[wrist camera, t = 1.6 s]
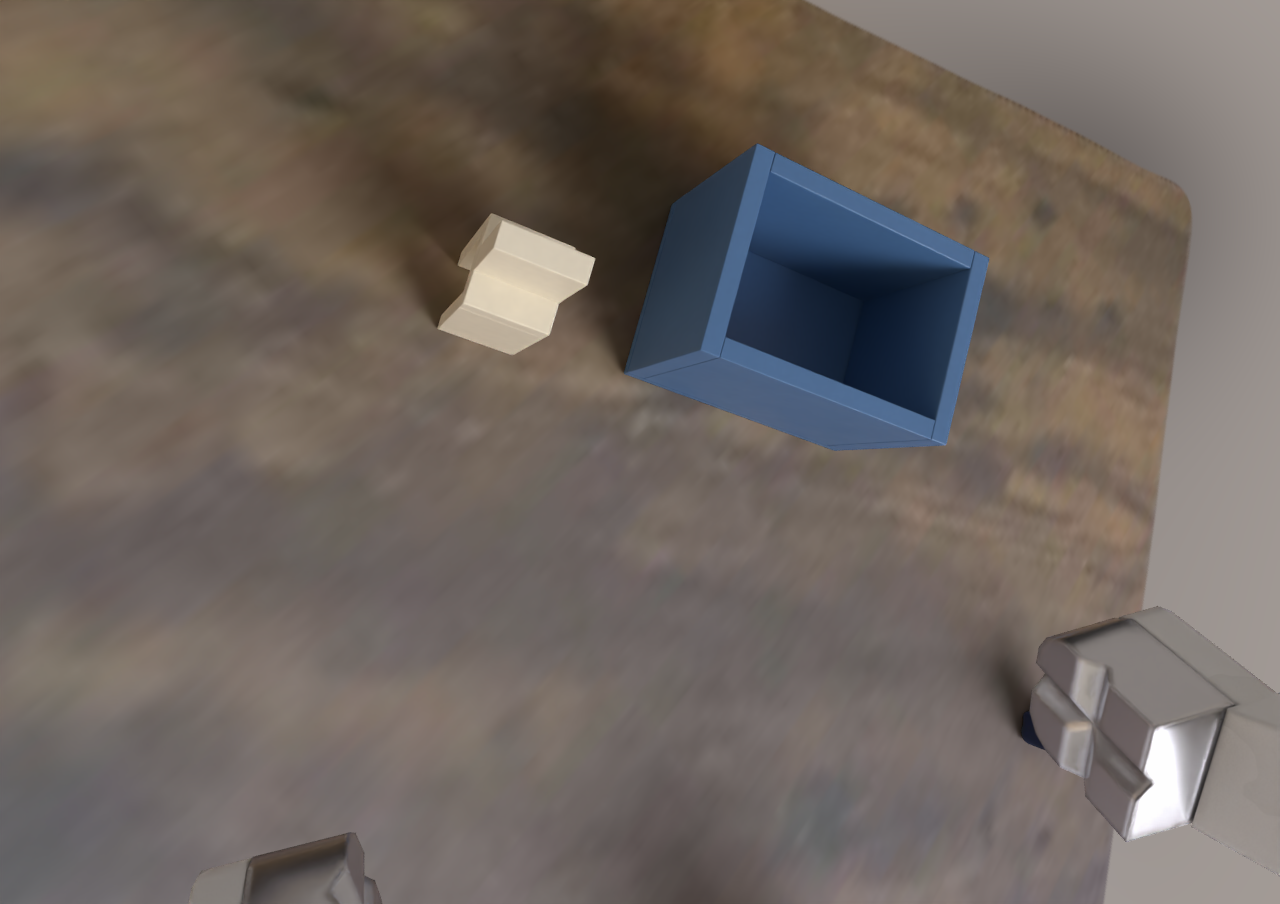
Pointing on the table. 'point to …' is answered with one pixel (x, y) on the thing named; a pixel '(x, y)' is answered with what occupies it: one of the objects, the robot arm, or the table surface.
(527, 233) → the cream l-shaped step block
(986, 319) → the table surface
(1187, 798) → the robot arm
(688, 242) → the box
